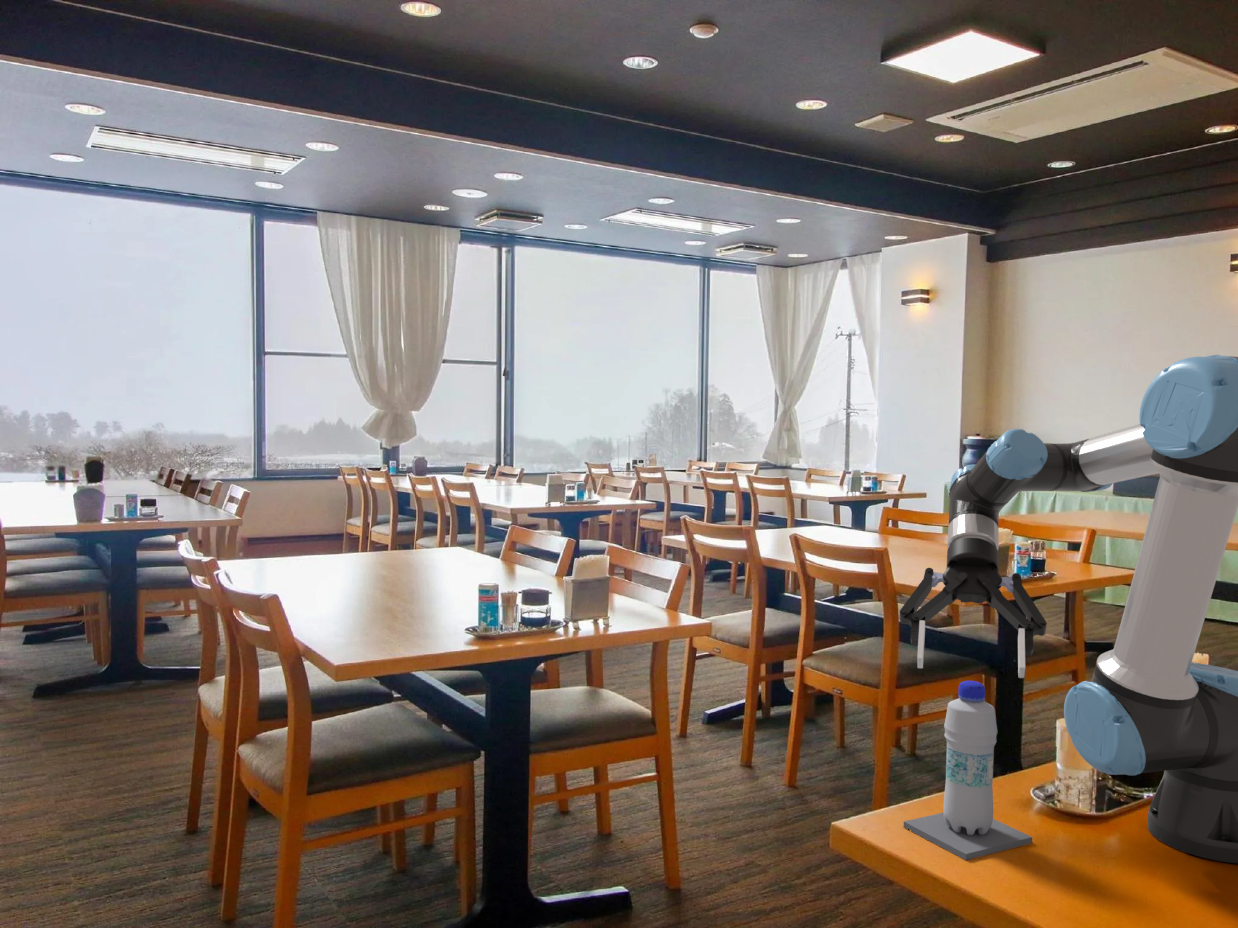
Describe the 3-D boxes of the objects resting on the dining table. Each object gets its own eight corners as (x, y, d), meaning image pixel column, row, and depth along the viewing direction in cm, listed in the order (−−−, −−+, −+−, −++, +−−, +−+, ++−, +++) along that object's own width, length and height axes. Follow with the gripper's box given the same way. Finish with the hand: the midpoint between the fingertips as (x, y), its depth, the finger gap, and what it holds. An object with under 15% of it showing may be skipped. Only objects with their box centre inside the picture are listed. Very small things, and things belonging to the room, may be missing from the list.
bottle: (998, 841, 126) (1003, 689, 125) (944, 836, 127) (949, 685, 126) (989, 820, 132) (994, 676, 132) (938, 816, 134) (942, 673, 133)
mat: (1032, 842, 127) (1032, 836, 127) (965, 860, 122) (965, 853, 122) (967, 812, 137) (967, 806, 137) (903, 826, 132) (903, 821, 132)
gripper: (1058, 570, 149) (1063, 690, 136) (890, 560, 158) (880, 672, 144) (1062, 539, 144) (1068, 662, 131) (889, 530, 153) (878, 645, 139)
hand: (970, 668), depth 138 cm, fingers open, 13 cm apart
